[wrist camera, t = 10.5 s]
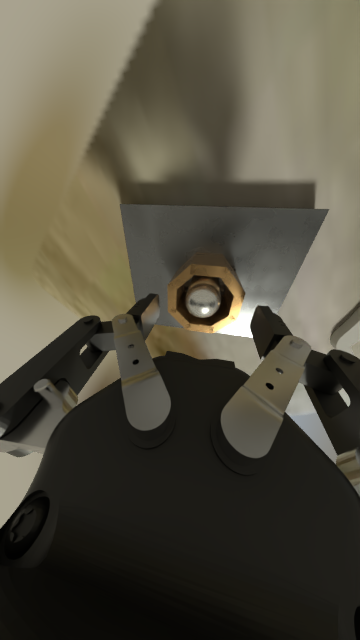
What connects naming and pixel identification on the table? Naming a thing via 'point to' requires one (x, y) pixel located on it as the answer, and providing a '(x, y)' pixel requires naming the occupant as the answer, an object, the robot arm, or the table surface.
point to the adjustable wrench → (347, 333)
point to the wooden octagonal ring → (229, 300)
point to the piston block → (220, 238)
